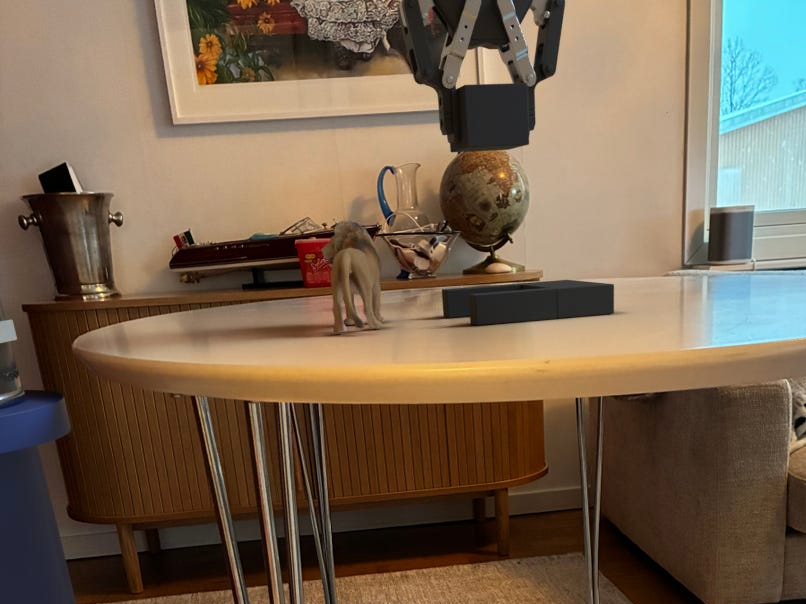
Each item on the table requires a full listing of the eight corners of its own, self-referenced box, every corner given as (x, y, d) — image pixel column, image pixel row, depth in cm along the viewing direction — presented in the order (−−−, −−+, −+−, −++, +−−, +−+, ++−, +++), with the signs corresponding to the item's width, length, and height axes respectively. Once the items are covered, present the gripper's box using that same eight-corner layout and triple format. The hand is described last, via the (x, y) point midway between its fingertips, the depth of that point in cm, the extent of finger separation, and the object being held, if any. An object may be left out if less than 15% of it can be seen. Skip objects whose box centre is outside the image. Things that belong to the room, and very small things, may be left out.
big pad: (476, 325, 83) (474, 295, 82) (443, 316, 93) (441, 289, 92) (614, 313, 86) (614, 284, 85) (568, 306, 96) (567, 279, 95)
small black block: (467, 147, 79) (464, 84, 77) (450, 152, 84) (446, 93, 82) (529, 144, 80) (527, 82, 78) (508, 149, 85) (506, 91, 83)
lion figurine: (328, 322, 94) (317, 222, 90) (383, 318, 95) (374, 219, 91) (333, 337, 80) (320, 220, 77) (396, 332, 81) (386, 216, 78)
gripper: (545, -87, 80) (551, 141, 87) (376, -91, 76) (396, 148, 83) (580, -117, 73) (583, 133, 80) (397, -122, 70) (417, 140, 77)
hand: (488, 139), depth 82 cm, fingers closed on small black block, 5 cm apart
